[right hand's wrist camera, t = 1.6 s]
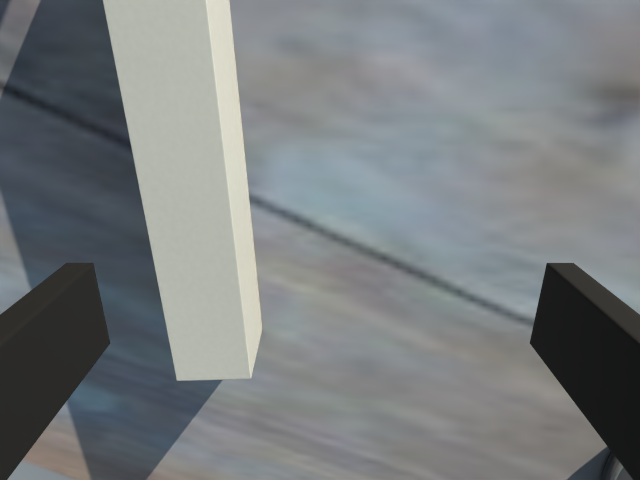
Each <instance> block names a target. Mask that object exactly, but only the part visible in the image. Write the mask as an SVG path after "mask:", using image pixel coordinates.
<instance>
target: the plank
mask: <svg viewBox="0 0 640 480" xmlns="http://www.w3.org/2000/svg"><path fill="white" fill-rule="evenodd" d="M103 4H104V9H105V14H106V20H107V25H108V30H109V35H110V40H111V45H112V50H113V56H114V61H115V66H116V71H117V76H118V81H119V86H120V92H121V97H122V102H123V107H124V112H125V117H126V122H127V127H128V133H129V138H130V143H131V148H132V153H133V158H134V163H135V169H136V174H137V179H138V184H139V189H140V194H141V199H142V205H143V210H144V215H145V220H146V225H147V230H148V235H149V240H150V246H151V251H152V256H153V261H154V266H155V271H156V276H157V282H158V287H159V292H160V297H161V302H162V307H163V312H164V318H165V323H166V328H167V333H168V338H169V343H170V348H171V353H172V359H173V364H174V369H175V374H176V379H177V381H191V380H226V379H251V376H252V372H253V367H254V363H255V358H256V354H257V350H258V345H259V341H260V336H261V332H262V322H261V312H260V302H259V292H258V282H257V272H256V262H255V252H254V242H253V232H252V222H251V213H250V203H249V193H248V183H247V173H246V163H245V153H244V143H243V133H242V123H241V113H240V103H239V93H238V83H237V74H236V64H235V54H234V44H233V34H232V24H231V14H230V4H229V0H103Z"/></svg>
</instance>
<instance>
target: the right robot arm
mask: <svg viewBox="0 0 640 480" xmlns="http://www.w3.org/2000/svg"><path fill="white" fill-rule="evenodd" d="M109 344H110V340H109V335H108V331H107V326H106V321H105V317H104V312H103V307H102V303H101V298H100V293H99V289H98V284H97V279H96V274H95V270H94V265H93V263H66V264H65V265H63V266H62V267H61V268H60V269H58V270H57V271H56V272H55V273H53V274H52V275H51V276H49V277H48V278H47V279H46V280H44V281H43V282H42V283H40V284H39V285H38V286H37V287H35V288H34V289H33V290H31V291H30V292H29V293H28V294H26V295H25V296H24V297H22V298H21V299H20V300H19V301H17V302H16V303H15V304H14V305H12V306H11V307H10V308H8V309H7V310H6V311H5V312H3V313H2V314H1V315H0V480H7V479H8V478H9V476H10V475H11V474H12V472H13V471H14V470H15V469H16V467H17V466H18V464H19V463H20V462H21V461H22V459H23V458H24V457H25V455H26V454H27V453H28V451H29V450H30V449H31V447H32V446H33V445H34V443H35V442H36V441H37V439H38V438H39V437H40V435H41V434H42V433H43V431H44V430H45V429H46V427H47V426H48V425H49V423H50V422H51V421H52V420H53V418H54V417H55V416H56V414H57V413H58V412H59V410H60V409H61V408H62V406H63V405H64V404H65V402H66V401H67V400H68V398H69V397H70V396H71V394H72V393H73V392H74V390H75V389H76V388H77V386H78V385H79V384H80V382H81V381H82V380H83V378H84V377H85V376H86V374H87V373H88V372H89V371H90V369H91V368H92V367H93V365H94V364H95V363H96V361H97V360H98V359H99V357H100V356H101V355H102V353H103V352H104V351H105V349H106V348H107V347H108V345H109ZM530 344H531V345H532V347H533V348H534V349H535V351H536V352H537V353H538V355H539V356H540V357H541V359H542V360H543V361H544V363H545V364H546V365H547V367H548V368H549V369H550V371H551V372H552V373H553V374H554V376H555V377H556V378H557V380H558V381H559V382H560V384H561V385H562V386H563V388H564V389H565V390H566V392H567V393H568V394H569V396H570V397H571V398H572V400H573V401H574V402H575V404H576V405H577V406H578V408H579V409H580V410H581V412H582V413H583V414H584V416H585V417H586V418H587V420H588V421H589V422H590V423H591V425H592V426H593V427H594V429H595V430H596V431H597V433H598V434H599V435H600V437H601V438H602V439H603V441H604V442H605V443H606V445H607V446H608V447H609V449H610V450H611V451H612V453H611V455H610V456H609V458H608V460H607V462H606V464H605V467H604V470H603V474H602V480H640V315H639V314H638V313H637V312H635V311H634V310H633V309H632V308H630V307H629V306H628V305H626V304H625V303H624V302H623V301H621V300H620V299H619V298H618V297H616V296H615V295H614V294H612V293H611V292H610V291H609V290H607V289H606V288H605V287H603V286H602V285H601V284H600V283H598V282H597V281H596V280H594V279H593V278H592V277H591V276H589V275H588V274H587V273H585V272H584V271H583V270H582V269H580V268H579V267H578V266H577V265H575V264H574V263H547V265H546V270H545V274H544V279H543V284H542V289H541V293H540V298H539V303H538V307H537V312H536V317H535V321H534V326H533V331H532V335H531V340H530Z"/></svg>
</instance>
